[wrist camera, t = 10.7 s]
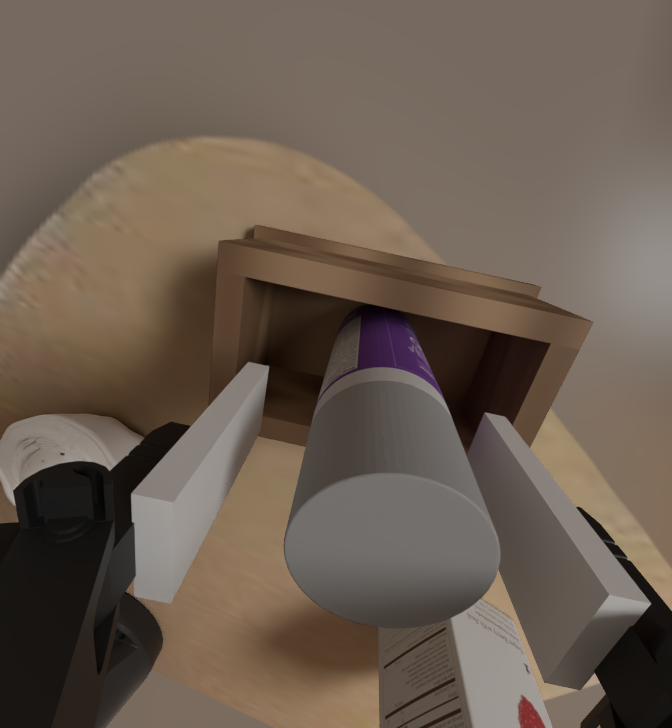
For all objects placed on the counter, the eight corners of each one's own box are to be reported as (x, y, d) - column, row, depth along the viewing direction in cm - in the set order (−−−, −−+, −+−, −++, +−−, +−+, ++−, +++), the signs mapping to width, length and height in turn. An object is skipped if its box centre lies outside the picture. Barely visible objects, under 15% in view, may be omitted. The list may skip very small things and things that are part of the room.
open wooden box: (244, 376, 24) (197, 431, 17) (260, 225, 20) (207, 223, 14) (473, 427, 24) (513, 502, 17) (533, 284, 20) (612, 311, 13)
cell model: (97, 511, 30) (26, 584, 24) (33, 390, 26) (-74, 441, 20) (202, 504, 29) (156, 581, 22) (153, 375, 25) (78, 425, 18)
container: (429, 330, 20) (561, 549, 7) (382, 387, 22) (408, 659, 8) (365, 286, 20) (361, 423, 6) (322, 348, 21) (239, 570, 8)
